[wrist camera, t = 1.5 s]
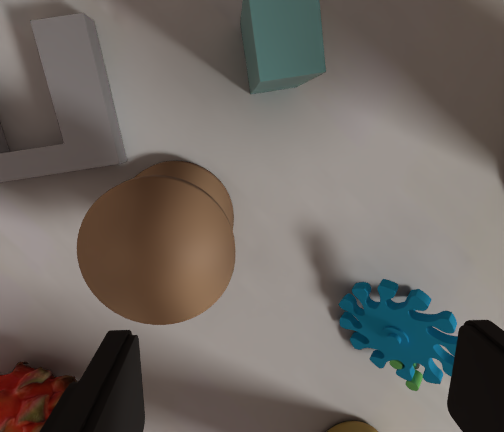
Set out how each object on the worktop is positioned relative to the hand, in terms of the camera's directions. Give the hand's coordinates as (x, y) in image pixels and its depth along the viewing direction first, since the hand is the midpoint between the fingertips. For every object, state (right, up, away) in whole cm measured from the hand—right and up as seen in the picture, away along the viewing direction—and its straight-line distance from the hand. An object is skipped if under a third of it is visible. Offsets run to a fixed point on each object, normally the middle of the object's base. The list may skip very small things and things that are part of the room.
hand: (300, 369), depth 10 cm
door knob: (-7, +4, +19) cm, 21 cm away
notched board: (-18, +12, +17) cm, 27 cm away
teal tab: (0, +16, +17) cm, 23 cm away
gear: (+10, -4, +23) cm, 26 cm away
